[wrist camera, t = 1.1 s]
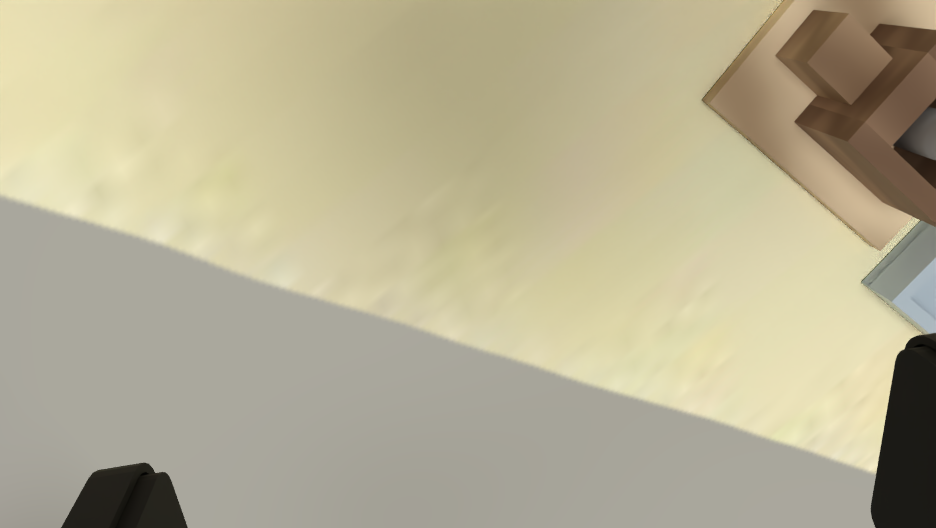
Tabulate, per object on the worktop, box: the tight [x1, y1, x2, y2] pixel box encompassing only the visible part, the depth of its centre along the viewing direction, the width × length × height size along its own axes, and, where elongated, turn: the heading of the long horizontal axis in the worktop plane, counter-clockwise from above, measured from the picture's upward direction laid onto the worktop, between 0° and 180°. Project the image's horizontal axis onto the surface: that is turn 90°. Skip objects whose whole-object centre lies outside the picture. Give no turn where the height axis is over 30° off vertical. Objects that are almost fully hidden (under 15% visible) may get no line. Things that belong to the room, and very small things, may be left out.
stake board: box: [702, 0, 936, 251], centre depth 30 cm, size 13×13×6 cm
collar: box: [775, 10, 936, 227], centre depth 31 cm, size 5×10×4 cm, turn 53°
